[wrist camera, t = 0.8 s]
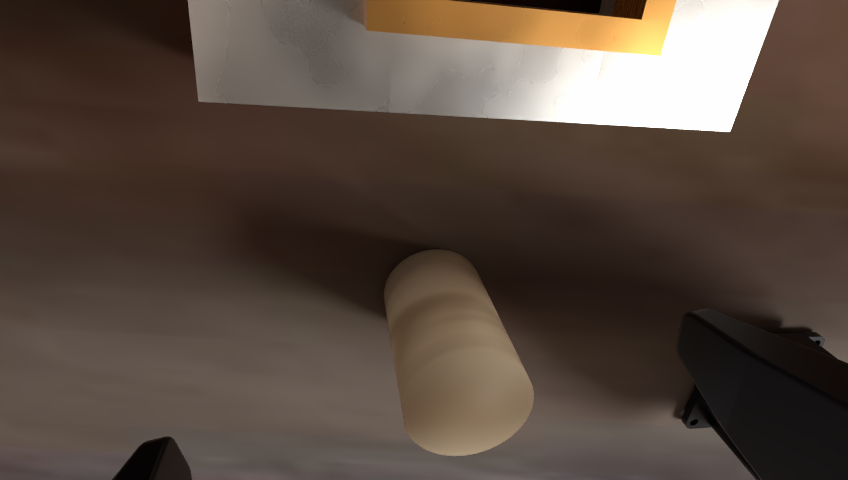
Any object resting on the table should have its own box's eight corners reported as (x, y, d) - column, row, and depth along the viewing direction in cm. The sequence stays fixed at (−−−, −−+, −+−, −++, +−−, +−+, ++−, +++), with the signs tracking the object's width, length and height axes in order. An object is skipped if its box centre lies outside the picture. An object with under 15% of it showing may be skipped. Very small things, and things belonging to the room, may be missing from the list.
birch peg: (472, 330, 24) (521, 451, 18) (380, 332, 23) (398, 460, 17) (486, 249, 22) (545, 354, 16) (386, 248, 21) (409, 359, 15)
